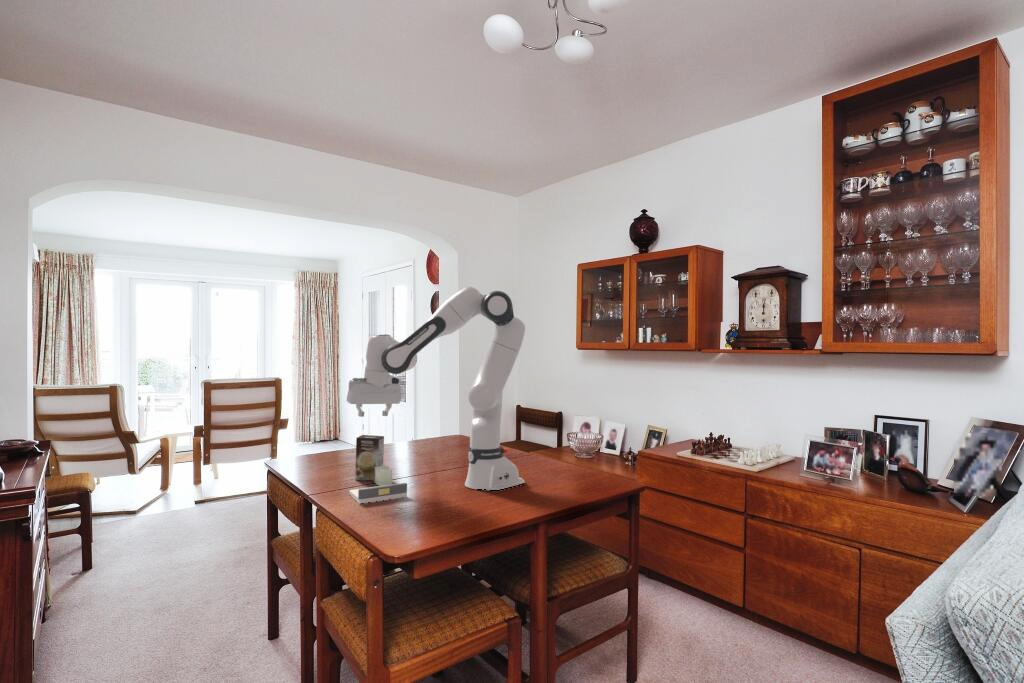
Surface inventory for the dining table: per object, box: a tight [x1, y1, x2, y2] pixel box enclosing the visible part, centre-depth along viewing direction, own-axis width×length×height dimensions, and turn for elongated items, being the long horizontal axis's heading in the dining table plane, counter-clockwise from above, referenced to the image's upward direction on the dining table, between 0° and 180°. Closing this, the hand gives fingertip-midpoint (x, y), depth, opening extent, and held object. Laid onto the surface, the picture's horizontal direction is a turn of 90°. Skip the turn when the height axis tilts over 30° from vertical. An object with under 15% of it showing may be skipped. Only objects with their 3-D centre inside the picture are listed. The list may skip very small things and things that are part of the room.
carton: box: [374, 465, 393, 486], centre depth 186 cm, size 4×7×6 cm, turn 33°
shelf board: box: [348, 482, 408, 505], centre depth 172 cm, size 16×12×4 cm
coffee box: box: [354, 434, 385, 482], centre depth 194 cm, size 9×6×16 cm
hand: (373, 416), depth 185 cm, fingers open, 8 cm apart
